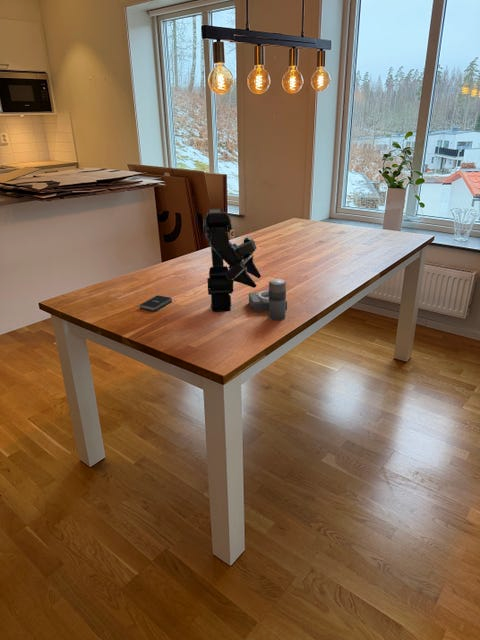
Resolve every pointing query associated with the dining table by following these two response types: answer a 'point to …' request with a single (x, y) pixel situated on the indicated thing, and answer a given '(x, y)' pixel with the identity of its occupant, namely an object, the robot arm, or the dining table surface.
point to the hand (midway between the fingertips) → (257, 282)
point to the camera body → (260, 301)
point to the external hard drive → (155, 303)
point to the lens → (277, 299)
